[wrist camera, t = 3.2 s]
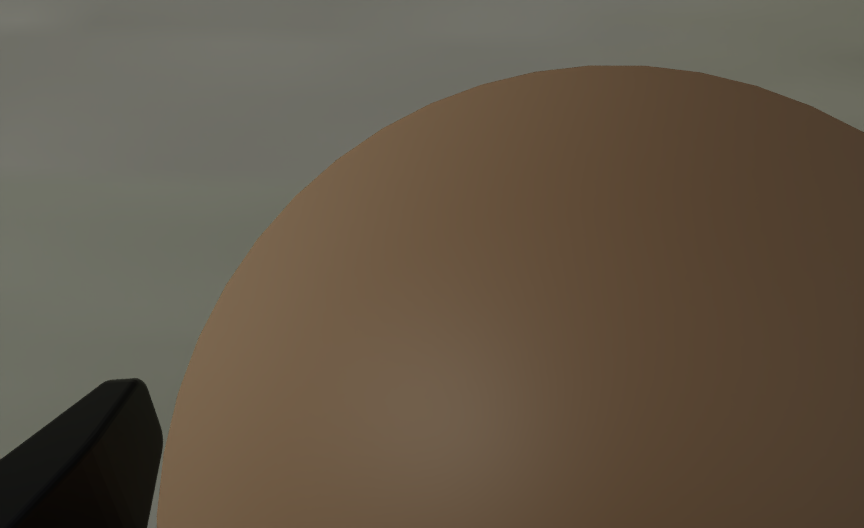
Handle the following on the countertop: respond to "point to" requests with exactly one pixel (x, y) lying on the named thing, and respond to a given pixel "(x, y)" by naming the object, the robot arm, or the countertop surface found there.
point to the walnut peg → (546, 321)
